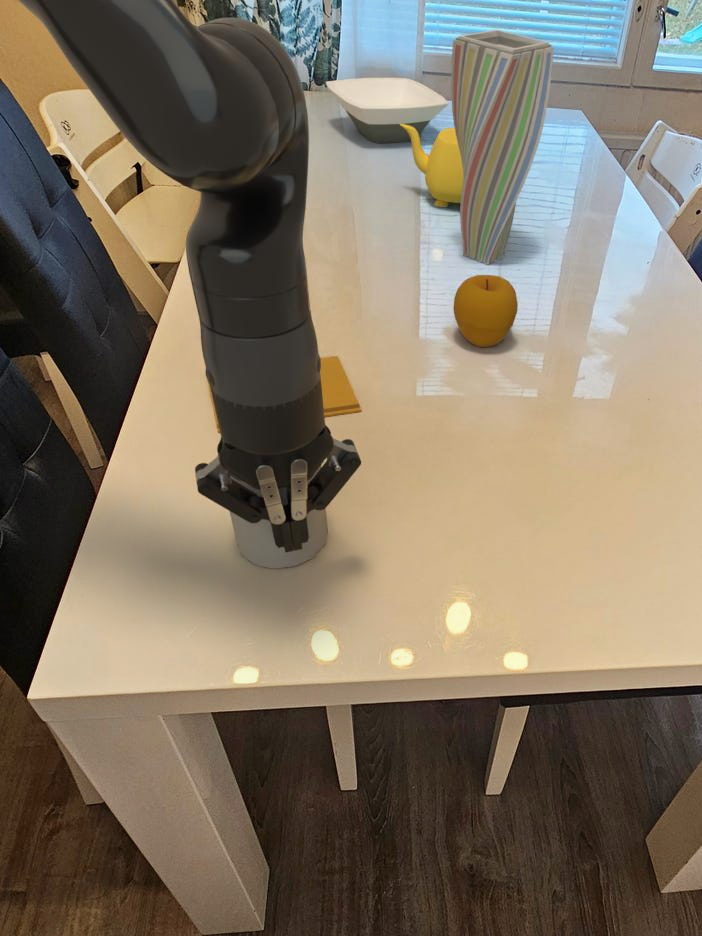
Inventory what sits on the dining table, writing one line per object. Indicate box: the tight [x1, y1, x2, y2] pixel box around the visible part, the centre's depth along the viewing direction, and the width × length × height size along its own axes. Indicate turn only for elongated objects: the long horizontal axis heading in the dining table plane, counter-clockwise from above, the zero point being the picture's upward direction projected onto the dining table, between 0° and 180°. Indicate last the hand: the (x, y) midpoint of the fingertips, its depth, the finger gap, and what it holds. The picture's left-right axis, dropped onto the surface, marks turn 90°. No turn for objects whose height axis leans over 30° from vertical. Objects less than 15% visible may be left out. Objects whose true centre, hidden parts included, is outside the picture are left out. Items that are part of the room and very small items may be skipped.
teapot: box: [400, 124, 463, 208], centre depth 128 cm, size 14×20×13 cm
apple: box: [452, 274, 519, 348], centre depth 93 cm, size 8×8×9 cm
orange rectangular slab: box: [207, 355, 362, 434], centre depth 83 cm, size 16×12×1 cm
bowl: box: [325, 77, 449, 144], centre depth 153 cm, size 22×23×8 cm
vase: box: [450, 29, 555, 266], centre depth 105 cm, size 14×14×30 cm
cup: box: [217, 454, 329, 570], centre depth 63 cm, size 8×8×10 cm
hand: (291, 544), depth 61 cm, fingers closed
